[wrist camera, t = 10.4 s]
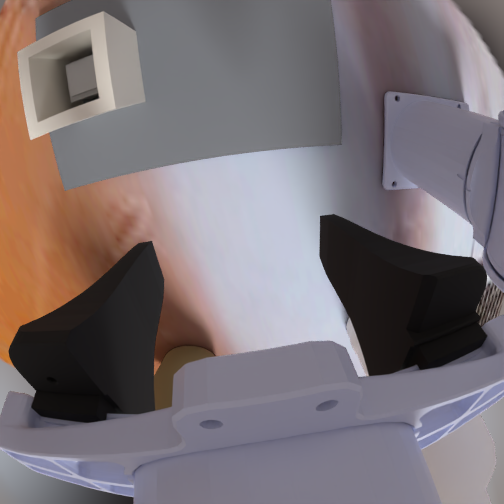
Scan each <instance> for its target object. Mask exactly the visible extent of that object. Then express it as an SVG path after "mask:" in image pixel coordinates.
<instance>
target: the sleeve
mask: <svg viewBox="0 0 504 504" xmlns="http://www.w3.org/2000/svg"><path fill="white" fill-rule="evenodd" d="M17 54H18V66H19V76H20V84H21V92H22V98H23V105H24V110H25V116H26V121H27V126H28V131H29V135H30V140H32V139H34V138H37V137H39V136H42V135H44V134H46V133H49V132H52V131H54V130H57V129H59V128H62V127H65V126H68V125H70V124H73V123H76V122H79V121H82V120H85V119H88V118H91V117H94V116H97V115H100V114H103V113H106V112H109V111H113V110H116V109H120V108H123V107H127V106H130V105H134V104H138V103H142V102H146V100H145V94H144V88H143V81H142V74H141V67H140V60H139V52H138V44H137V35H136V31H135V30H133V29H131V28H130V27H128V26H127V25H125V24H124V23H122V22H120V21H119V20H117V19H116V18H114V17H112V16H111V15H109V14H107V13H106V12H104V11H103V12H100V13H97V14H95V15H92V16H89V17H87V18H84V19H82V20H80V21H77V22H75V23H73V24H70V25H68V26H66V27H64V28H62V29H59V30H57V31H55V32H53V33H51V34H49V35H47V36H45V37H43V38H42V39H40V40H38V41H36V42H34V43H32V44H31V45H29V46H27V47H25V48H24V49H22V50H20V51H19V52H17ZM90 55H93V59H94V67H95V74H96V81H97V88H98V94H99V99H96V100H94V101H91V102H88V103H85V104H84V103H83V101H78V102H72V103H71V100H70V94H69V87H68V81H67V73H66V65H68V64H70V63H72V62H75V61H77V60H80V59H82V58H85V57H87V56H90Z"/></svg>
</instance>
